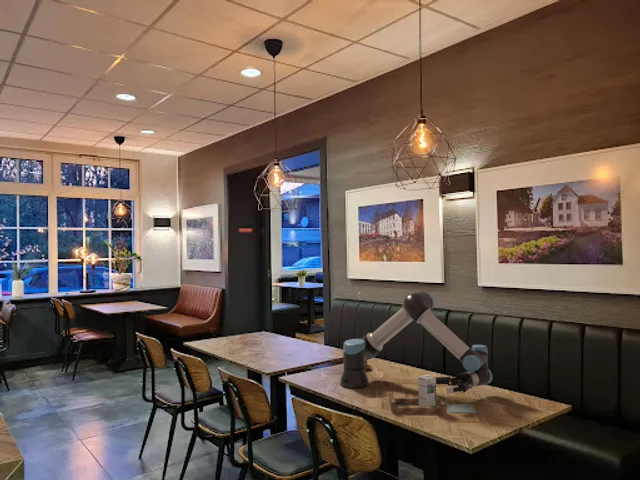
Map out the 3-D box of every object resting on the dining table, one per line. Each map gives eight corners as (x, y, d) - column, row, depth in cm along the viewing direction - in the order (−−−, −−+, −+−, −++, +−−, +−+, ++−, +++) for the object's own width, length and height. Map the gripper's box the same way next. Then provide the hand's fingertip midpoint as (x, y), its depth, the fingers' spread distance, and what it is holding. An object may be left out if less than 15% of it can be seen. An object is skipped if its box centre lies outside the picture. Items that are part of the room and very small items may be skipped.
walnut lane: (392, 413, 217) (392, 402, 217) (389, 403, 232) (389, 392, 232) (446, 414, 216) (446, 402, 216) (439, 403, 231) (439, 392, 231)
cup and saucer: (370, 372, 292) (369, 361, 292) (349, 371, 294) (349, 360, 295) (372, 367, 304) (371, 357, 304) (352, 366, 306) (352, 356, 306)
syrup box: (426, 411, 220) (426, 378, 220) (418, 407, 225) (417, 375, 225) (436, 409, 223) (436, 376, 223) (428, 405, 228) (427, 374, 228)
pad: (450, 412, 217) (450, 412, 217) (444, 404, 229) (444, 403, 229) (478, 413, 217) (478, 412, 217) (471, 404, 229) (471, 404, 229)
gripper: (488, 394, 228) (457, 402, 216) (447, 382, 248) (416, 389, 237) (488, 377, 228) (457, 385, 216) (446, 367, 249) (416, 373, 237)
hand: (435, 387), depth 226 cm, fingers open, 13 cm apart
